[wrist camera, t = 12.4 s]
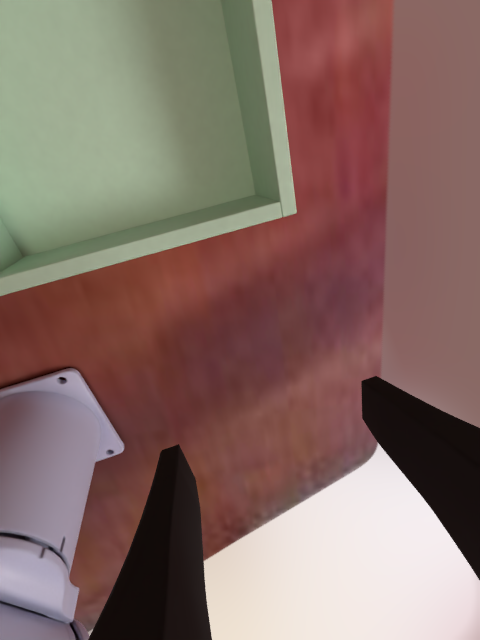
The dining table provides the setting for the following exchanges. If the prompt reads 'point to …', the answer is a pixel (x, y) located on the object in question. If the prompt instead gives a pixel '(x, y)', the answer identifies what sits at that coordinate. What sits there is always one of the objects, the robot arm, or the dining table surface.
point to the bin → (134, 130)
